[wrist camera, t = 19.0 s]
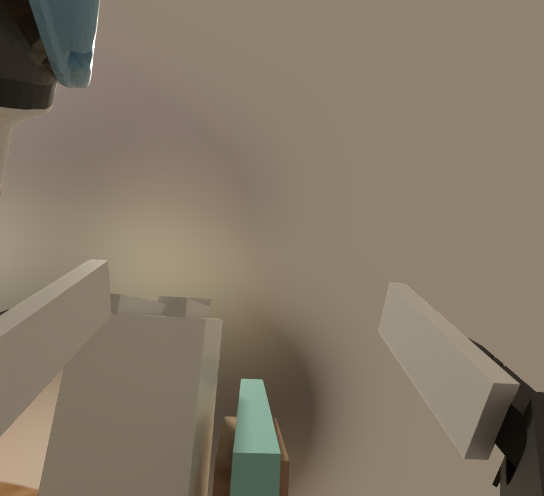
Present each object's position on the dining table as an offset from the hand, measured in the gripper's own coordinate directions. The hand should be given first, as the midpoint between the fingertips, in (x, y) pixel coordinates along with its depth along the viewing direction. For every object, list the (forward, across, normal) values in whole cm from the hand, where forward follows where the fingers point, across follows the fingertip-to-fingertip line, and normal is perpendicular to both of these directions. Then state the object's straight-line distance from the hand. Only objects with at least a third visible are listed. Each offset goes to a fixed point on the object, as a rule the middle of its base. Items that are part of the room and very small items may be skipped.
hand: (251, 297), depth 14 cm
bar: (+10, +1, -20) cm, 22 cm away
